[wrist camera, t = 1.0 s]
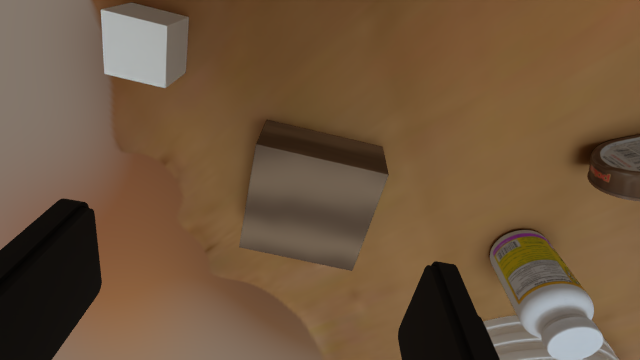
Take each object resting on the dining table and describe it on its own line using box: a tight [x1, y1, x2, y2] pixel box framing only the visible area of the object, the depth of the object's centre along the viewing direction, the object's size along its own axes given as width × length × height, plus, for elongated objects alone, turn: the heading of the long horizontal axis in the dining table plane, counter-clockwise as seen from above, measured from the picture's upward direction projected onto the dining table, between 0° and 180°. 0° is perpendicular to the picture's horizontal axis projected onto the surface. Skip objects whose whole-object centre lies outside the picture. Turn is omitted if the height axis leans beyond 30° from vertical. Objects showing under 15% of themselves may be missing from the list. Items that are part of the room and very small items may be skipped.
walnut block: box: [239, 120, 389, 271], centre depth 39 cm, size 12×12×6 cm
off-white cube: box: [101, 3, 189, 88], centre depth 33 cm, size 5×5×5 cm
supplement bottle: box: [490, 230, 603, 360], centre depth 39 cm, size 7×7×13 cm
